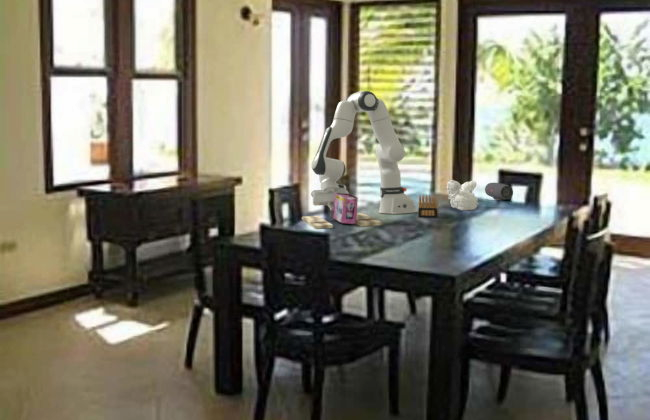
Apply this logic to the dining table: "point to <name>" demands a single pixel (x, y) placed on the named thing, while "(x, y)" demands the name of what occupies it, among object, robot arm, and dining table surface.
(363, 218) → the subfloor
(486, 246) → the dining table surface
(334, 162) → the robot arm
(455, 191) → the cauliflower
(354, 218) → the gum box
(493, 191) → the bluetooth speaker
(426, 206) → the ammunition clip
